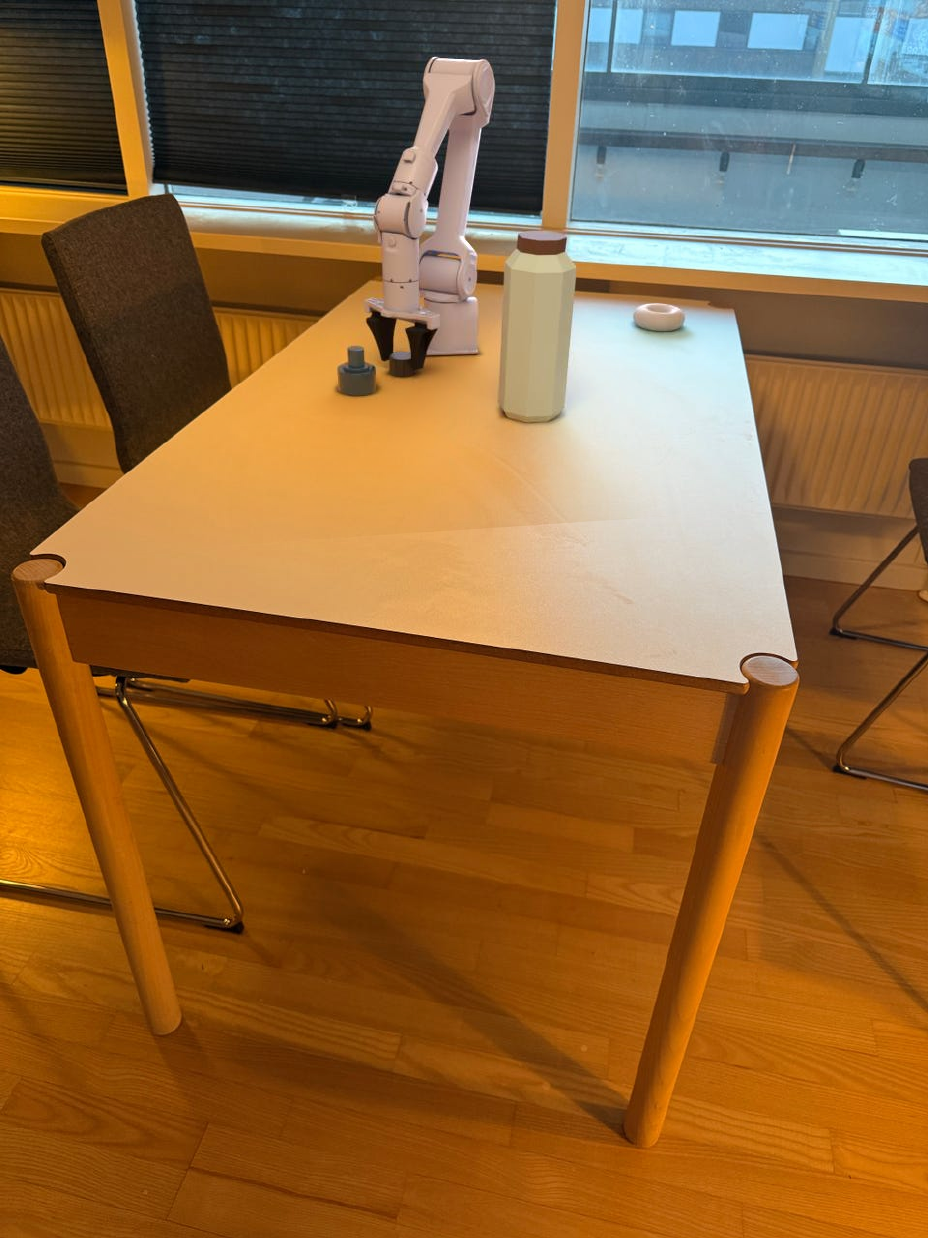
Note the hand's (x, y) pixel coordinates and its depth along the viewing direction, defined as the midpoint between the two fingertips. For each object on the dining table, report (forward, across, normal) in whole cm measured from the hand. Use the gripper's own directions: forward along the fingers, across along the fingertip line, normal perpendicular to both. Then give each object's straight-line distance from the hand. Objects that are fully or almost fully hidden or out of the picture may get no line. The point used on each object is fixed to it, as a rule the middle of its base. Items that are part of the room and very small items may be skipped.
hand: (402, 364), depth 147 cm
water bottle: (+2, +26, 0) cm, 26 cm away
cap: (+1, 0, 0) cm, 1 cm away
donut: (+2, +18, +54) cm, 57 cm away
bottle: (+1, 0, -11) cm, 11 cm away
